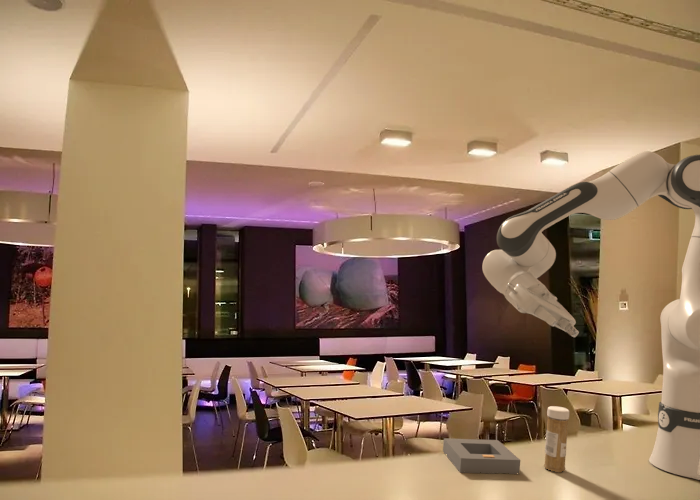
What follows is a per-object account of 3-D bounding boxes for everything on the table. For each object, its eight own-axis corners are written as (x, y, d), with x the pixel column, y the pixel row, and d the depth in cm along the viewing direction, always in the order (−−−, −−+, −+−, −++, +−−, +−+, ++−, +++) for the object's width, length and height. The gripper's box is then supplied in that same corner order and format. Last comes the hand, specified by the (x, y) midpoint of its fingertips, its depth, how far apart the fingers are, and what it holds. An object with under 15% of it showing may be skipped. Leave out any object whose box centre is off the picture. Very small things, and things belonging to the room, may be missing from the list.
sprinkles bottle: (569, 473, 130) (573, 411, 130) (549, 472, 130) (553, 410, 130) (558, 465, 135) (563, 405, 135) (539, 465, 134) (544, 405, 134)
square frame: (496, 452, 141) (497, 439, 141) (519, 474, 128) (520, 459, 128) (442, 451, 139) (443, 437, 139) (459, 472, 126) (461, 457, 126)
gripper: (512, 271, 141) (550, 305, 131) (557, 297, 154) (595, 330, 143) (495, 292, 143) (531, 327, 132) (541, 316, 155) (578, 350, 145)
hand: (565, 329), depth 138 cm, fingers open, 8 cm apart
